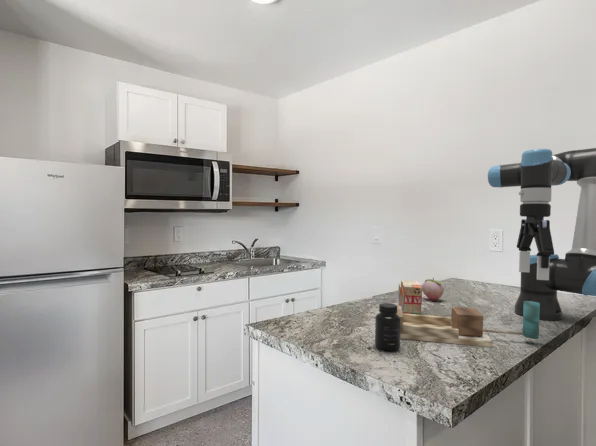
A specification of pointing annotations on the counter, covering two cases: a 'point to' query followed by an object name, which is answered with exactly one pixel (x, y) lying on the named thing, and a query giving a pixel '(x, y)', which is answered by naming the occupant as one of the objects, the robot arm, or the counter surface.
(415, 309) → the stack of blocks
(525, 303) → the brown teal long piece
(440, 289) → the decorative fruit
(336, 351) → the counter surface
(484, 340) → the lane board
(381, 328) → the supplement bottle
